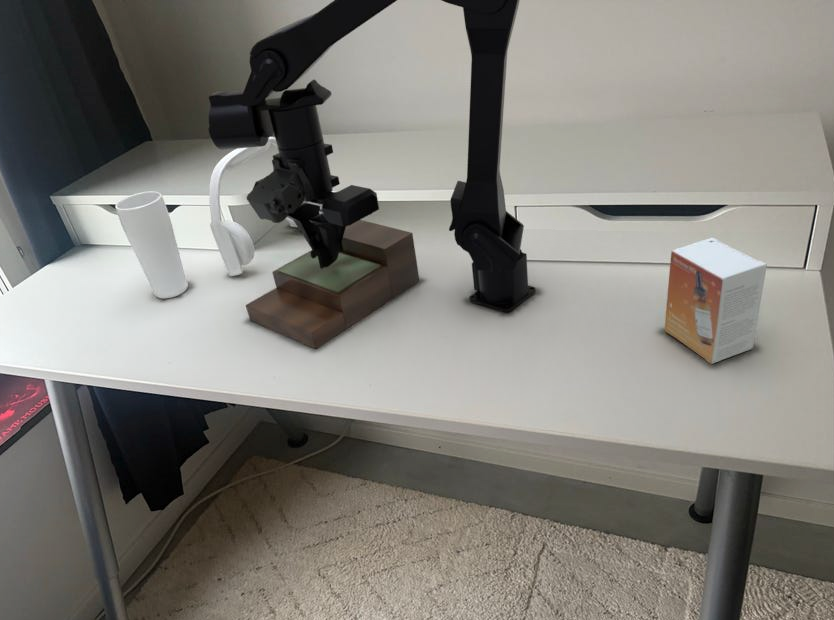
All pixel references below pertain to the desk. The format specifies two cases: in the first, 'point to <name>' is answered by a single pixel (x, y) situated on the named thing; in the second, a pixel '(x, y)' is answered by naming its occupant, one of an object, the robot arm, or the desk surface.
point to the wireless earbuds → (321, 250)
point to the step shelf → (338, 285)
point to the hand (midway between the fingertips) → (326, 256)
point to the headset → (228, 233)
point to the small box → (714, 299)
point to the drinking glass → (153, 242)
